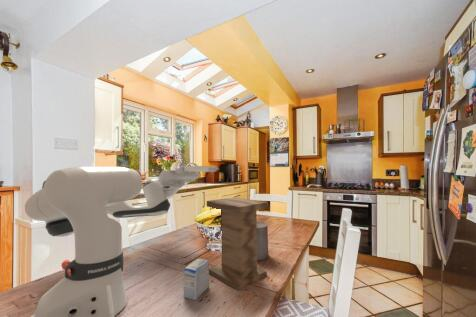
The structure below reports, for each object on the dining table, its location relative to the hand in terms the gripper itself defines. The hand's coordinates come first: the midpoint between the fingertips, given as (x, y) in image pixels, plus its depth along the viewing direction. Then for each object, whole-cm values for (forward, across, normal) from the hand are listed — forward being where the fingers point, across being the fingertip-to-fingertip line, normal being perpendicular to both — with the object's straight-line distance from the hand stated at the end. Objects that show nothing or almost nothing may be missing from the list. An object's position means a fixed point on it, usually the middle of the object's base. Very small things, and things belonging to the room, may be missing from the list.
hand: (187, 167), depth 108 cm
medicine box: (+11, +17, -51) cm, 55 cm away
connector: (+7, 0, -6) cm, 10 cm away
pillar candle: (+6, -17, -48) cm, 51 cm away
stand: (+11, 0, -51) cm, 52 cm away
